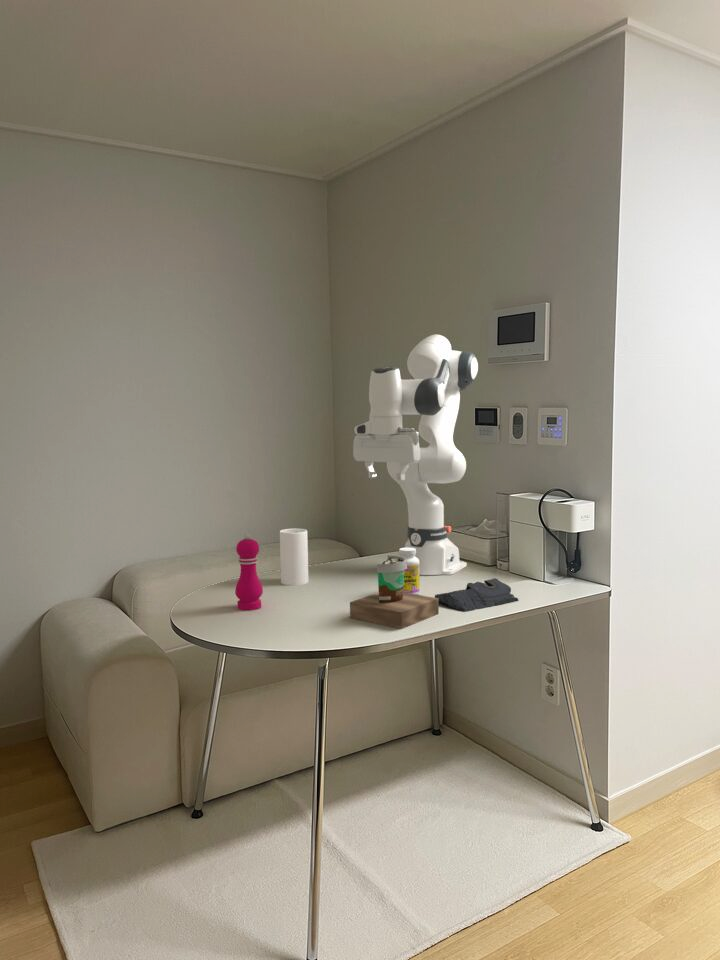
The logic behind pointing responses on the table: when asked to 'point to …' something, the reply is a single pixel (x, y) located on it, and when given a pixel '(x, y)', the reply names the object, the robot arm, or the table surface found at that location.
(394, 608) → the walnut base
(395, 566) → the food container
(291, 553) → the cup
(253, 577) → the pepper mill
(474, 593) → the folded dark cloth
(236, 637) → the table surface
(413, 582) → the supplement bottle
